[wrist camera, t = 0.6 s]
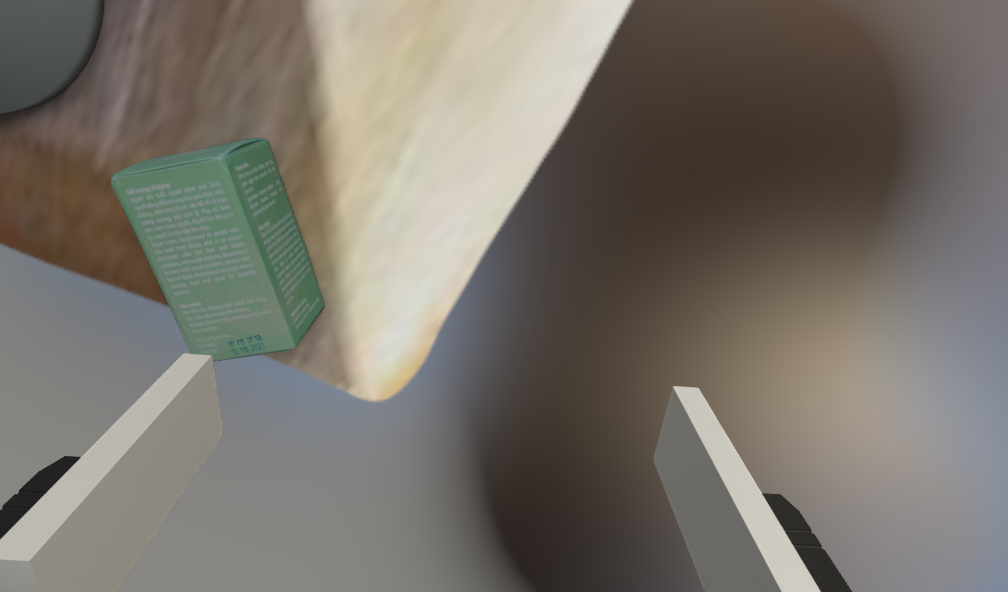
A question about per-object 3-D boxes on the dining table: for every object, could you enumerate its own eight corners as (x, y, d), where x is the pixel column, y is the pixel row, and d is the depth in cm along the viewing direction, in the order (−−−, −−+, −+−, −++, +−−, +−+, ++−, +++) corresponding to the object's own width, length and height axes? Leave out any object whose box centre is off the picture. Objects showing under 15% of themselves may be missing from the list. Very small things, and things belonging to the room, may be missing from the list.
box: (268, 131, 38) (218, 151, 31) (329, 303, 44) (298, 351, 37) (168, 151, 38) (98, 174, 32) (241, 319, 44) (195, 369, 37)
